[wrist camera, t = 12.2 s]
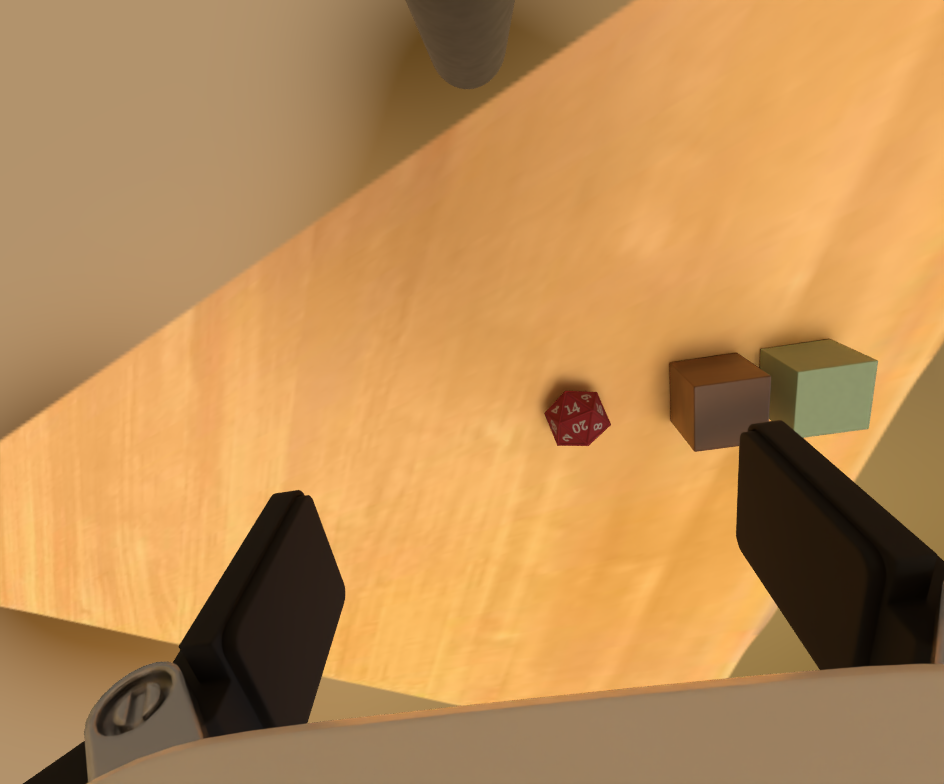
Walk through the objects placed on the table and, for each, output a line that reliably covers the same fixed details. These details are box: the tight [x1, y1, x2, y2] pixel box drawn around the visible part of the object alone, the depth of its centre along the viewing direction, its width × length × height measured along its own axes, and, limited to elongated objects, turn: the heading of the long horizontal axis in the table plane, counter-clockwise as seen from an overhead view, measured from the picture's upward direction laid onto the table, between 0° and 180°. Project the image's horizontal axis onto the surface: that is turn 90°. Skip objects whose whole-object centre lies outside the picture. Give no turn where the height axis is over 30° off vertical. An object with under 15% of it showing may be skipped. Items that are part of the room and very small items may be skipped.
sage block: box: [760, 339, 878, 438], centre depth 33 cm, size 4×4×4 cm
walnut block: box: [669, 353, 771, 452], centre depth 34 cm, size 4×4×4 cm
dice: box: [544, 391, 611, 446], centre depth 35 cm, size 4×4×4 cm
